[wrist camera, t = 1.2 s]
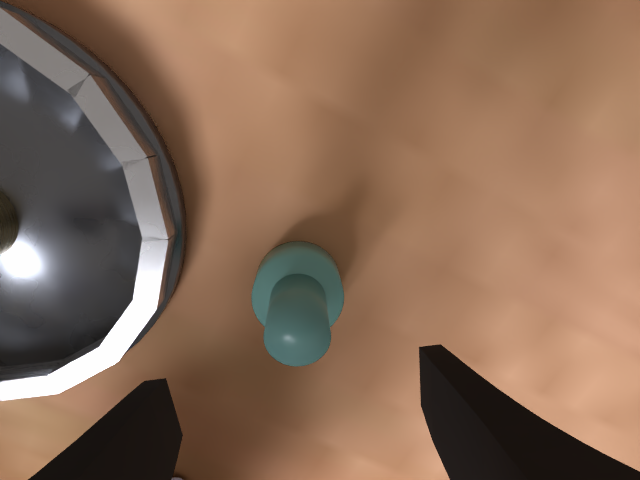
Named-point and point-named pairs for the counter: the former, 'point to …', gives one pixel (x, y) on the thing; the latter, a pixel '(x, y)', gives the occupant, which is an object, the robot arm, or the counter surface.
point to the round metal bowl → (77, 212)
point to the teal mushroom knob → (297, 301)
